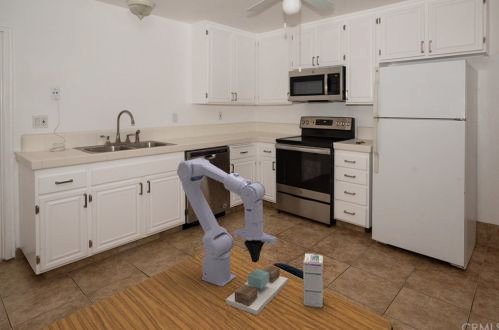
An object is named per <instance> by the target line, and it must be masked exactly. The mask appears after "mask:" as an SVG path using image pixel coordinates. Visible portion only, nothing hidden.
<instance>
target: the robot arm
mask: <svg viewBox="0 0 499 330" xmlns="http://www.w3.org/2000/svg"><path fill="white" fill-rule="evenodd" d="M176 174H177V176H178V179H179V180H180V182H181V185H182V189H183V191H184V193H185V195H186V198H187V200H188V201H189V204H190V206H191V208H192V210H193V212H194V213H195V216H196V218H197V220H198V222H199V224H200V226H201V228H202V231H203V232H204V236H203V237H202V241H201V242H202V244H203V248H204V252H205V255H204V256H203V258H202V277H201V280H203V281H204V282H208V283H210V284H214V285H217V286H219V287H224V286H226V285H227V284H229V283H230V282H231V281H232V280H234V279H235V278H236V276H237V275H236V274H233V273H231V253H232V250H233V248H234V246H235V241H234V238H243V239H245V240H244V242H243V244H244V246H245V247H246V249H247V251H248V254H249V255H250V258H251V262H252V263H254V264H256V263H257V262H258V261H260V256H261V252H262V249H263V247H264V244H265V243H266V244H267V243H268V244H270V245H272V246H273V245H275V244H276V243H277V236H273V235H271V234H268V233H266V232H264V211H263V210H264V209H263V208H264V207H263V199H264V198H265V196H266V188H265V186H264V185H263V184H262V183H261V182H259V181H252V180H251V179H246V178H245V177H243V176H241V175H240V173H238V172H231V173H227V172H225V171H224V170H222V169H221V168H219V167H217V166H215V165H214V164H212V163H210V160H208V159H205V158H203V157H198V158H194V159H189V160H182V161H180V162H179V164H178V166H177V170H176ZM205 176H206V177H209V178H210V179H213V180H215V181H216V182H219V183H222V184H223V186H224V188H225V189H226V190H228V191H229V192H230V193H231V192H232V193H233V194H236V196H238V197H240V199H241V201H242V202H243V203H242V204H243V208H244V228H245V229H244V230H243V229H236V230H234V238H233V236H232V235H231V234H230V233H228V231H227V229H226V228H225V227H222V226H220V225H219V223H218V221H217V219H216V217H215V215H214V214H213V211H212V209H211V207H210V206H209V203H208V202H207V199H206V197H205V195H204V193H203V191H202V190H201V187H200V186H201V183H202V181H203V179H204V178H205Z"/></svg>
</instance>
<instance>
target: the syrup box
mask: <svg viewBox="0 0 499 330" xmlns="http://www.w3.org/2000/svg"><path fill="white" fill-rule="evenodd" d="M302 269H303V272H302V273H303V281H302V282H303V283H302V284H303V306H306V307H314V308H323V303H324V255H323V254H320V253H305V254H304V257H303V268H302Z"/></svg>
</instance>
